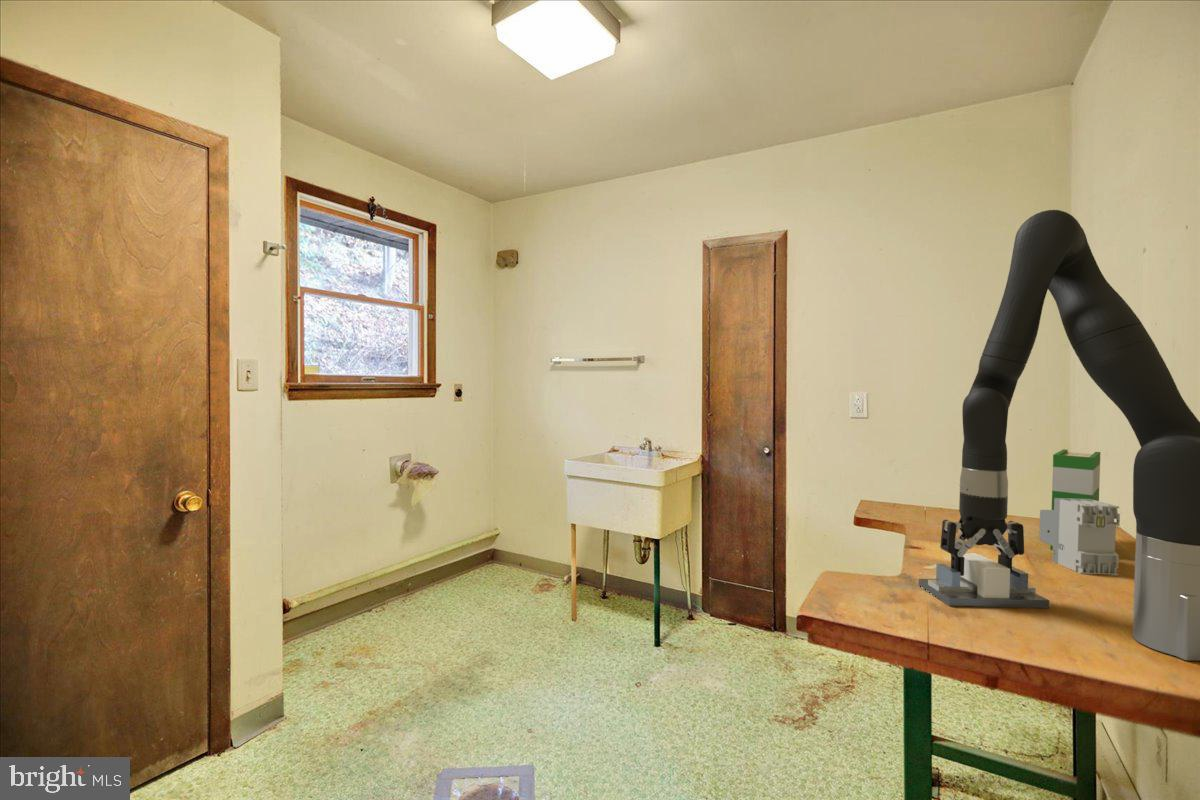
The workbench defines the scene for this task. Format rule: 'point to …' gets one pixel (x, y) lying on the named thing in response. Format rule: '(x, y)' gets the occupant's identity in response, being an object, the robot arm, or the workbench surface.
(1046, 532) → the circuit breaker
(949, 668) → the workbench surface
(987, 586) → the block
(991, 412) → the robot arm
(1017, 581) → the rail mount
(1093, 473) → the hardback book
